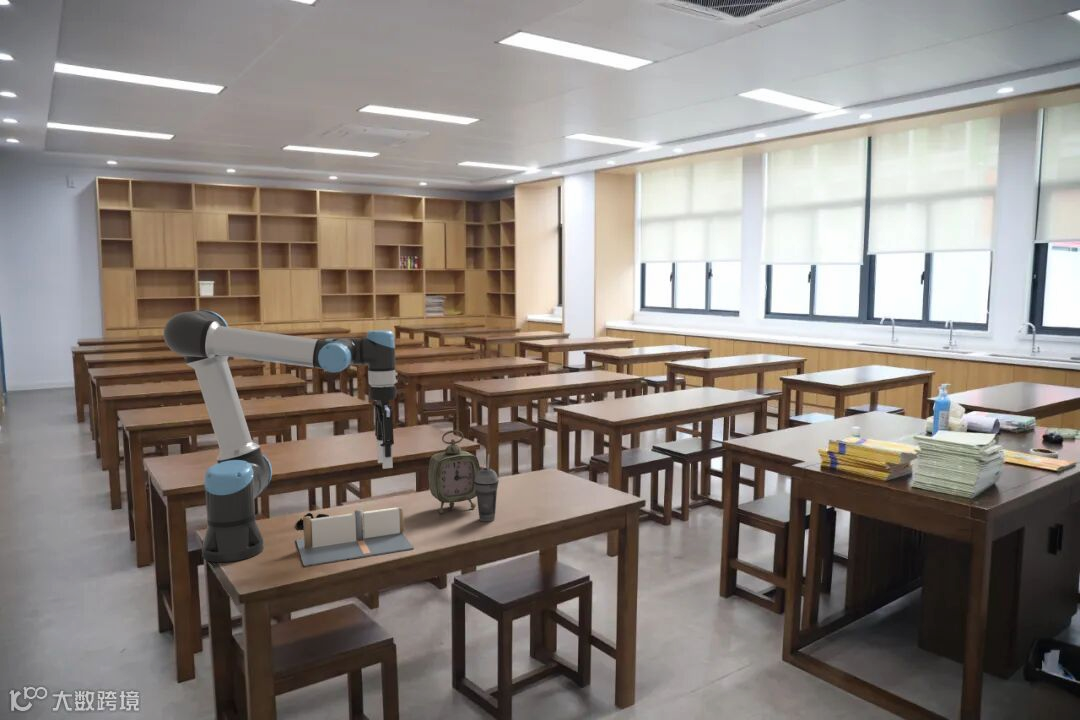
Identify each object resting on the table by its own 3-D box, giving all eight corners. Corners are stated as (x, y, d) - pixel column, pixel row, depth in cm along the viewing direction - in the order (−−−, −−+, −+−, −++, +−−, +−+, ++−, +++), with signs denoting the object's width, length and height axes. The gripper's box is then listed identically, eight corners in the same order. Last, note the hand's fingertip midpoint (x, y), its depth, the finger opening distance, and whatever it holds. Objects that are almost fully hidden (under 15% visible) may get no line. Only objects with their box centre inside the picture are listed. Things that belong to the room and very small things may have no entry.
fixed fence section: (305, 550, 194) (303, 519, 193) (304, 547, 196) (302, 516, 195) (363, 541, 200) (362, 511, 199) (362, 539, 202) (361, 509, 201)
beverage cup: (488, 513, 222) (487, 449, 220) (504, 519, 217) (503, 453, 215) (470, 519, 217) (468, 453, 215) (485, 525, 212) (484, 458, 210)
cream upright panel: (364, 538, 200) (363, 513, 199) (363, 536, 202) (362, 511, 201) (404, 532, 204) (404, 508, 204) (403, 530, 206) (402, 506, 205)
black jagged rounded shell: (333, 530, 211) (333, 513, 211) (298, 535, 207) (297, 518, 207) (328, 518, 222) (327, 502, 222) (294, 522, 218) (293, 506, 218)
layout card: (303, 566, 183) (303, 564, 183) (296, 540, 201) (296, 539, 201) (413, 549, 194) (413, 547, 194) (396, 526, 212) (396, 524, 212)
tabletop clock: (436, 516, 220) (434, 435, 218) (427, 508, 228) (425, 430, 226) (481, 509, 227) (479, 430, 224) (470, 501, 235) (468, 425, 232)
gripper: (403, 388, 198) (406, 471, 200) (388, 380, 215) (391, 456, 218) (375, 390, 195) (378, 474, 197) (362, 381, 212) (365, 459, 215)
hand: (385, 465), depth 208 cm, fingers open, 6 cm apart
